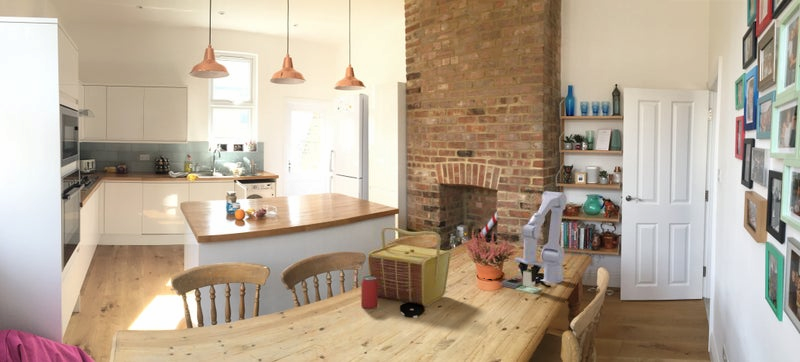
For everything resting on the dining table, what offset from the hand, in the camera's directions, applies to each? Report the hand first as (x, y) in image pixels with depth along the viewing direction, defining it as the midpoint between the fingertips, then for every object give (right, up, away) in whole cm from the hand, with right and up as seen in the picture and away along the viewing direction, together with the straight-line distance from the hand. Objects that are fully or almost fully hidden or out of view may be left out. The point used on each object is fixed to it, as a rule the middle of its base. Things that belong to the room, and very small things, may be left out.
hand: (529, 280), depth 238 cm
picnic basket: (-55, -5, -11) cm, 56 cm away
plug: (0, -2, 0) cm, 2 cm away
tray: (0, -5, 0) cm, 5 cm away
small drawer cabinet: (-3, -4, +10) cm, 11 cm away
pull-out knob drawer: (+1, -4, +13) cm, 14 cm away
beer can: (-72, -6, -24) cm, 76 cm away
